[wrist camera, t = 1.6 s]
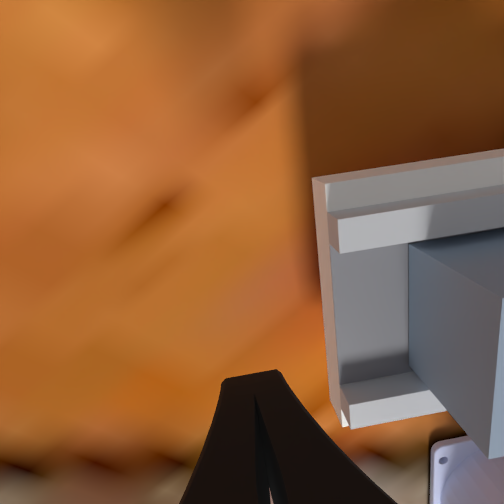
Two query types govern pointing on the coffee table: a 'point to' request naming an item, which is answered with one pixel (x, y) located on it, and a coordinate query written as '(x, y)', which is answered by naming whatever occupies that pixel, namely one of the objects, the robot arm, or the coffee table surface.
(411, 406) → the balance beam
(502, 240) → the rider
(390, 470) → the coffee table surface
